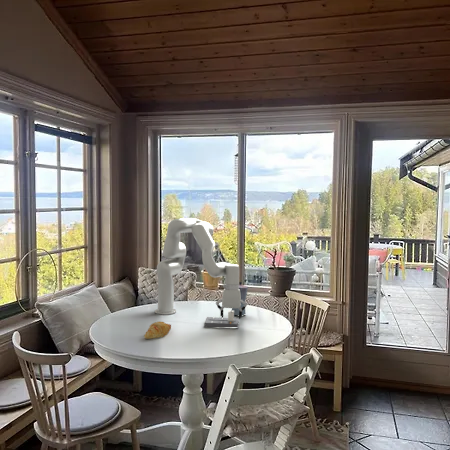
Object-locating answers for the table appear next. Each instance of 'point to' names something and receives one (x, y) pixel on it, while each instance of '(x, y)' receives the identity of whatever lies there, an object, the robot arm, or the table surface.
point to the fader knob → (231, 315)
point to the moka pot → (243, 296)
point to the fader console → (220, 322)
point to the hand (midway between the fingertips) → (231, 317)
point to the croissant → (157, 330)
